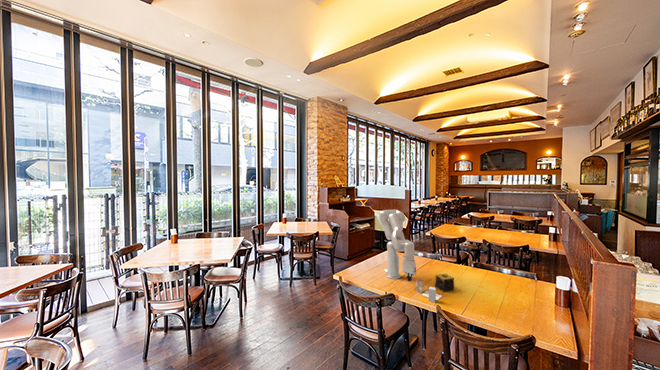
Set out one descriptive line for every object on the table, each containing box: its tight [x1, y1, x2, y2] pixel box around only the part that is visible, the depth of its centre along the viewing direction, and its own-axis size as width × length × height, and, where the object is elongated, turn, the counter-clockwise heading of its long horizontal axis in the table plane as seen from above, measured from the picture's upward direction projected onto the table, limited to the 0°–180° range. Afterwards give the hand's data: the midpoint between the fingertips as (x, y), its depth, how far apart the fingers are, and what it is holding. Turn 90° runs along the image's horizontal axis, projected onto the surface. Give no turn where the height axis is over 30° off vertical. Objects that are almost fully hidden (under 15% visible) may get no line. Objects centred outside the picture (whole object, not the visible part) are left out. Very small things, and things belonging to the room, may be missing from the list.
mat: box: [420, 290, 443, 301], centre depth 192 cm, size 12×9×1 cm
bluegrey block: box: [428, 286, 437, 303], centre depth 185 cm, size 4×4×9 cm
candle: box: [434, 273, 455, 293], centre depth 204 cm, size 10×10×10 cm
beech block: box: [415, 278, 425, 294], centre depth 199 cm, size 4×4×9 cm
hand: (409, 280), depth 205 cm, fingers closed
